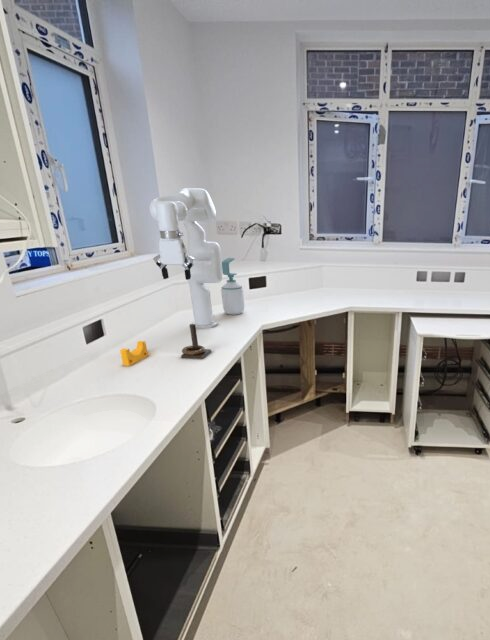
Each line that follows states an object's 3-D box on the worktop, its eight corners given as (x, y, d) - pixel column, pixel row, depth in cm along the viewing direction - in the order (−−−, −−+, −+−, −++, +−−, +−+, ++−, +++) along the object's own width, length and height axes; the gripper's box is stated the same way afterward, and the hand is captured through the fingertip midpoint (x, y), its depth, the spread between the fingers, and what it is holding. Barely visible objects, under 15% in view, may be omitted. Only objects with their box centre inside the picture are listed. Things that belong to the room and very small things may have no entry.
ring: (188, 348, 174) (187, 344, 173) (208, 349, 173) (208, 345, 172) (178, 355, 166) (177, 351, 165) (199, 356, 165) (199, 352, 164)
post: (191, 351, 174) (186, 321, 169) (211, 351, 174) (207, 322, 168) (181, 358, 166) (176, 327, 161) (202, 359, 165) (198, 327, 160)
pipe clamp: (139, 355, 169) (136, 340, 166) (148, 356, 168) (145, 341, 165) (119, 365, 158) (116, 349, 155) (129, 366, 157) (125, 350, 155)
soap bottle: (249, 312, 240) (244, 258, 228) (234, 316, 230) (228, 260, 218) (234, 309, 246) (229, 256, 234) (219, 313, 236) (212, 258, 224)
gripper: (195, 235, 163) (200, 277, 170) (154, 234, 165) (161, 276, 172) (186, 236, 156) (193, 281, 164) (144, 235, 158) (152, 279, 165)
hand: (177, 278), depth 168 cm, fingers open, 9 cm apart
